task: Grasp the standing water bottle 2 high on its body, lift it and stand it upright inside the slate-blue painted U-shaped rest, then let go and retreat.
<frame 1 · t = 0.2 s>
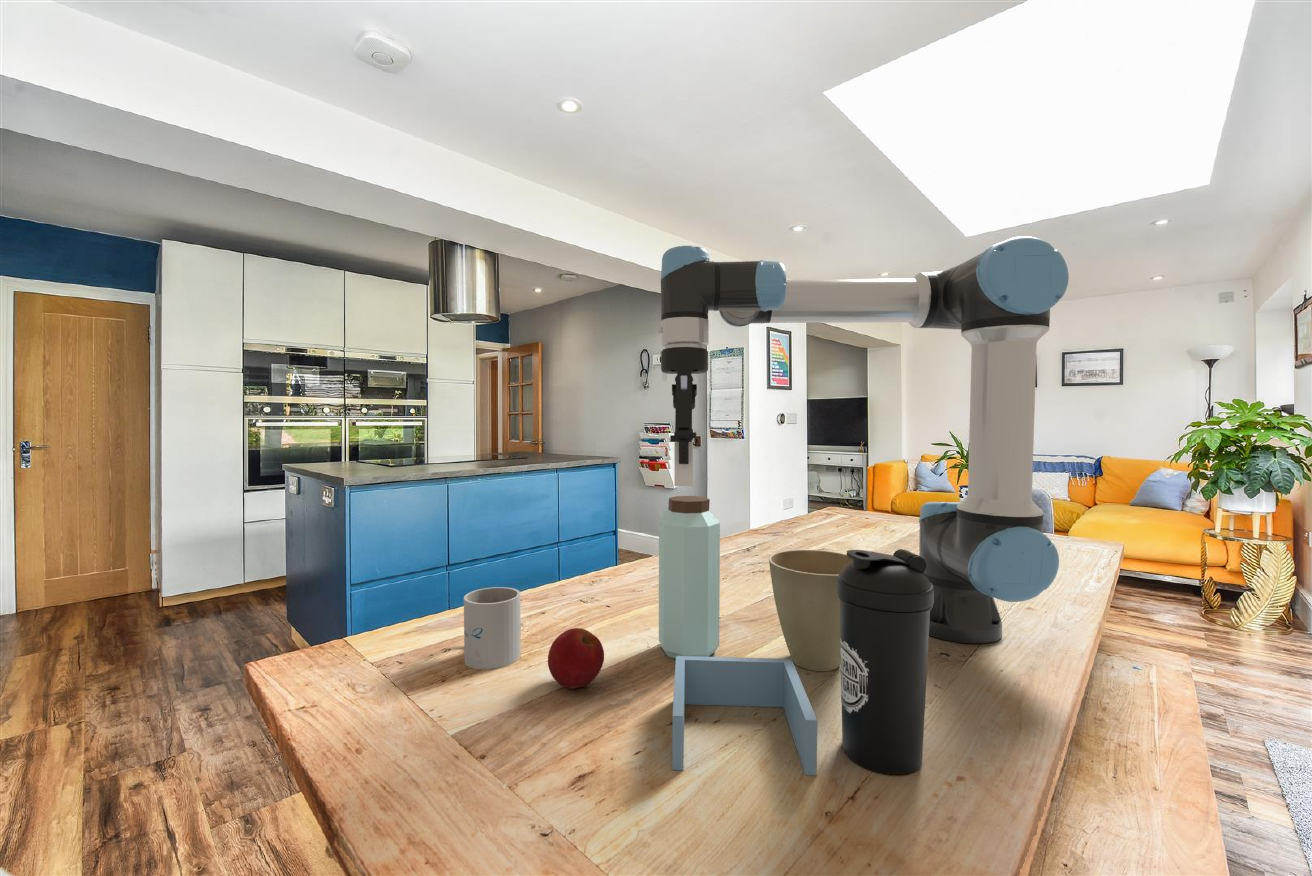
hand: (684, 481, 91), 28 cm above the table, fingers open, 13 cm apart
water bottle 2: (881, 754, 65), on the table
apple: (576, 686, 81), on the table
plant pot: (816, 663, 89), on the table
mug: (490, 654, 92), on the table
water bottle: (688, 651, 93), on the table
u rest: (737, 733, 69), on the table
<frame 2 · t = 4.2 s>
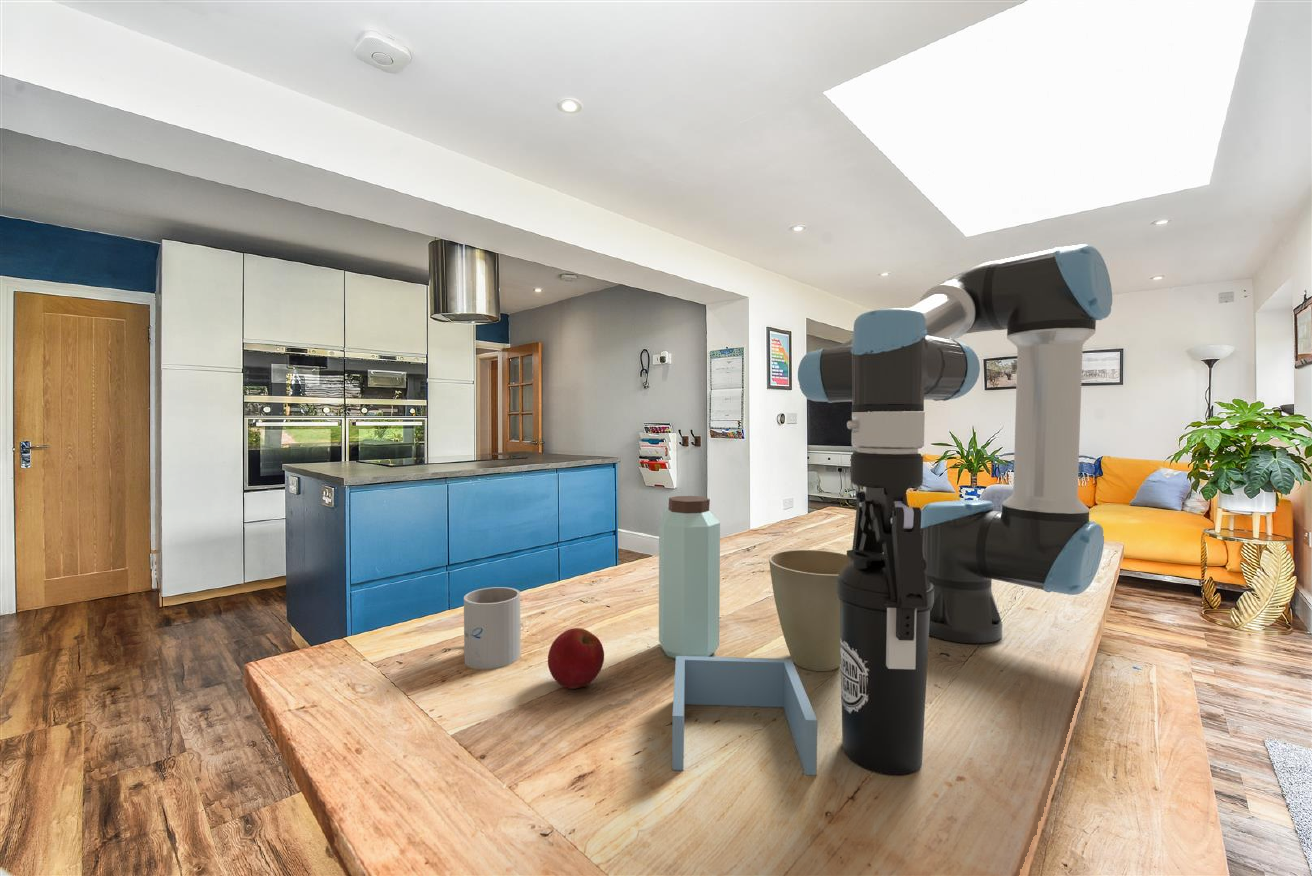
hand: (883, 646, 64), 12 cm above the table, fingers closed on water bottle 2, 10 cm apart
water bottle 2: (881, 754, 65), on the table, touching gripper
everything else where it was.
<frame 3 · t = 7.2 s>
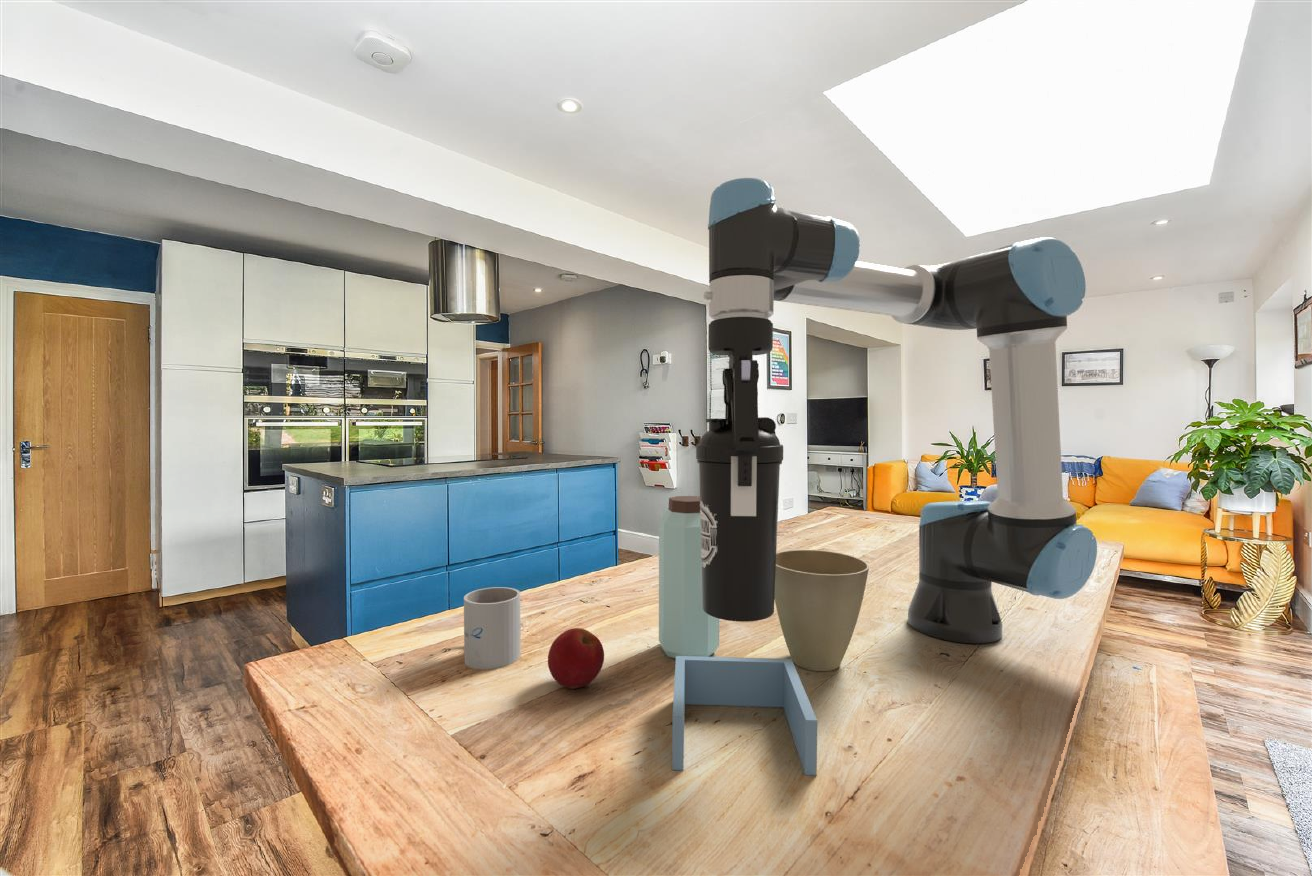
hand: (739, 507, 68), 27 cm above the table, fingers closed on water bottle 2, 10 cm apart
water bottle 2: (738, 610, 68), point 15 cm above the table, touching gripper
everything else where it was.
when the fingers open (14 cm above the table, at t = 10.0 s): water bottle 2 drops 2 cm, on the table.
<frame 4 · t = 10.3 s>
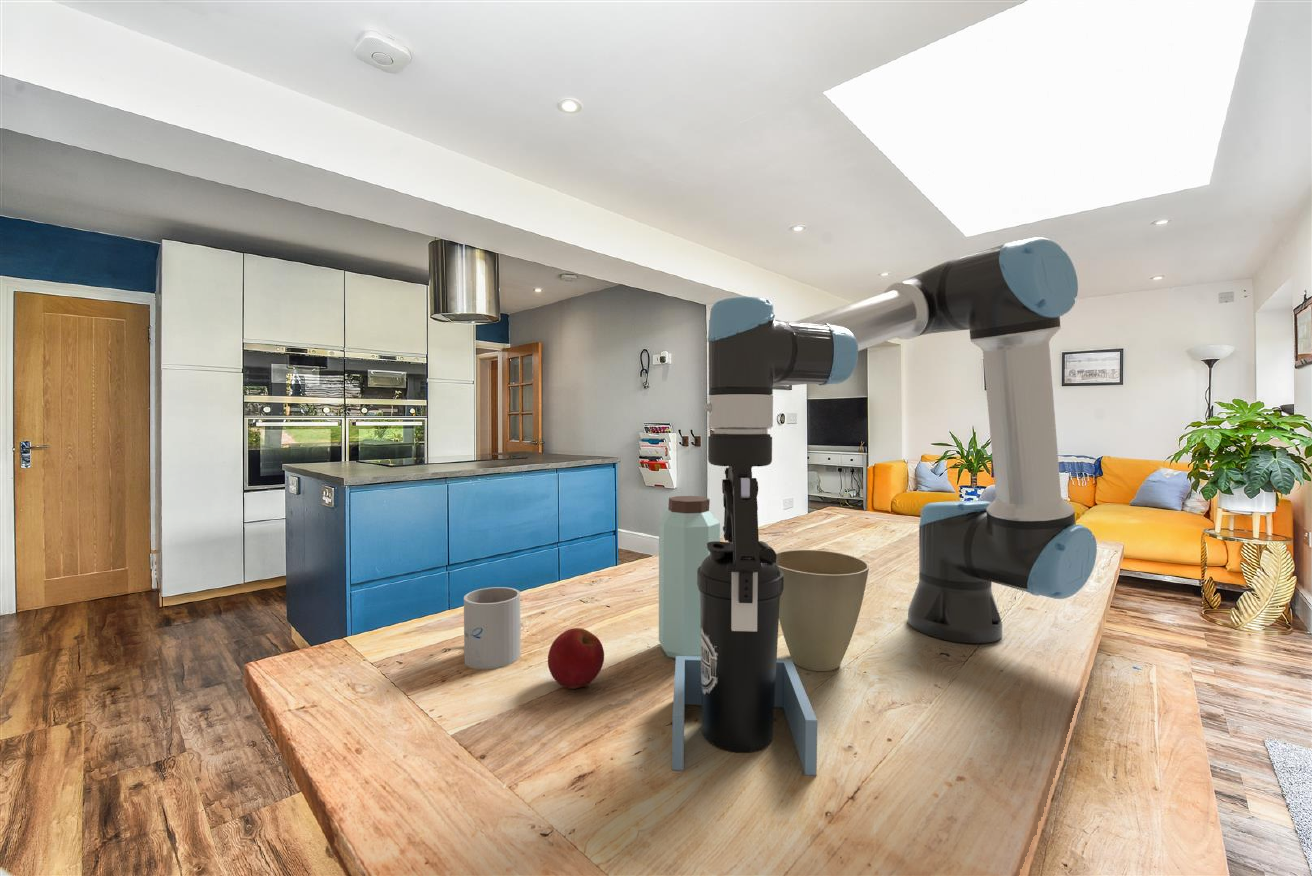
hand: (738, 609, 68), 15 cm above the table, fingers open, 13 cm apart
water bottle 2: (737, 733, 69), on the table
everything else where it was.
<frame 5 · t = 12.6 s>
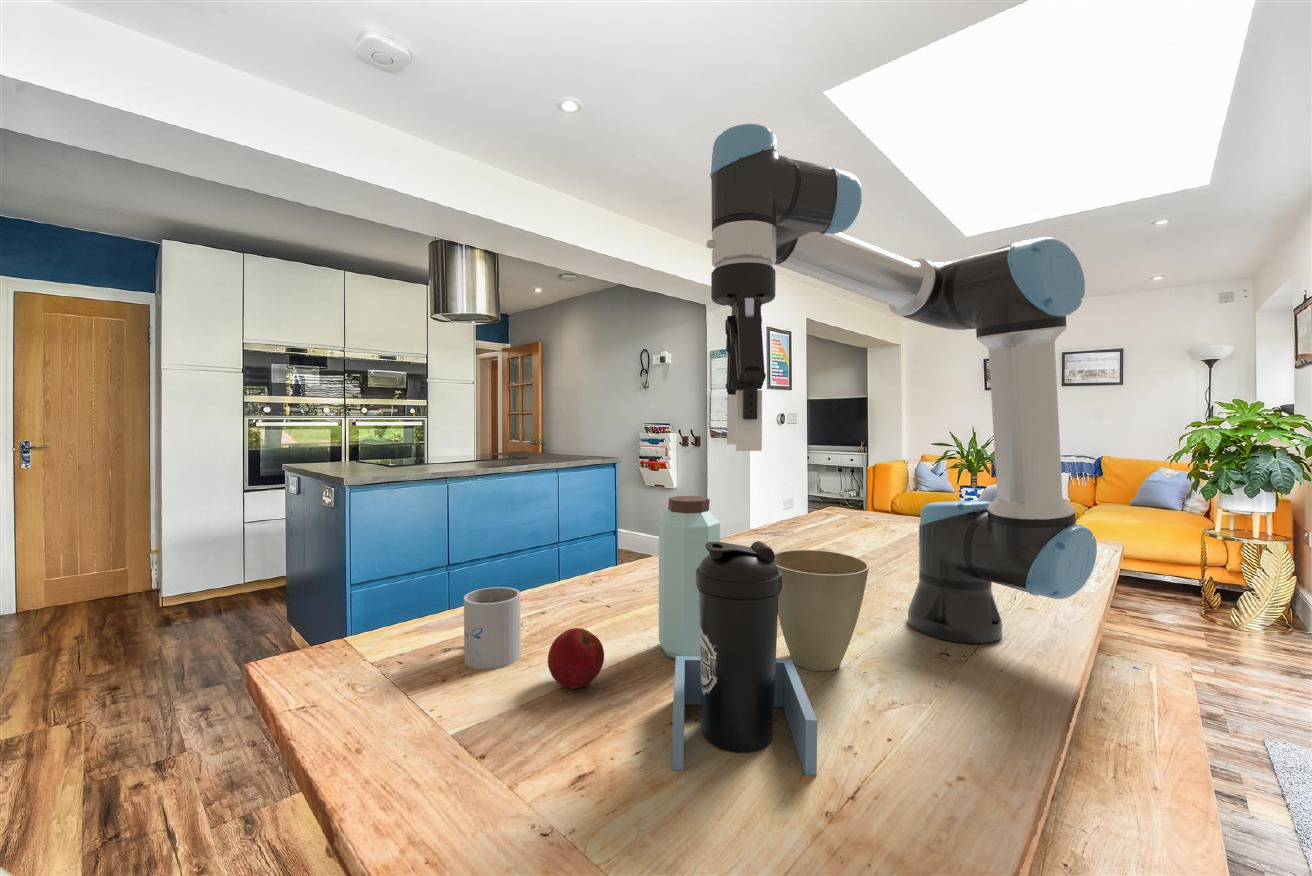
hand: (742, 447, 68), 35 cm above the table, fingers open, 13 cm apart
nothing on the table moved.
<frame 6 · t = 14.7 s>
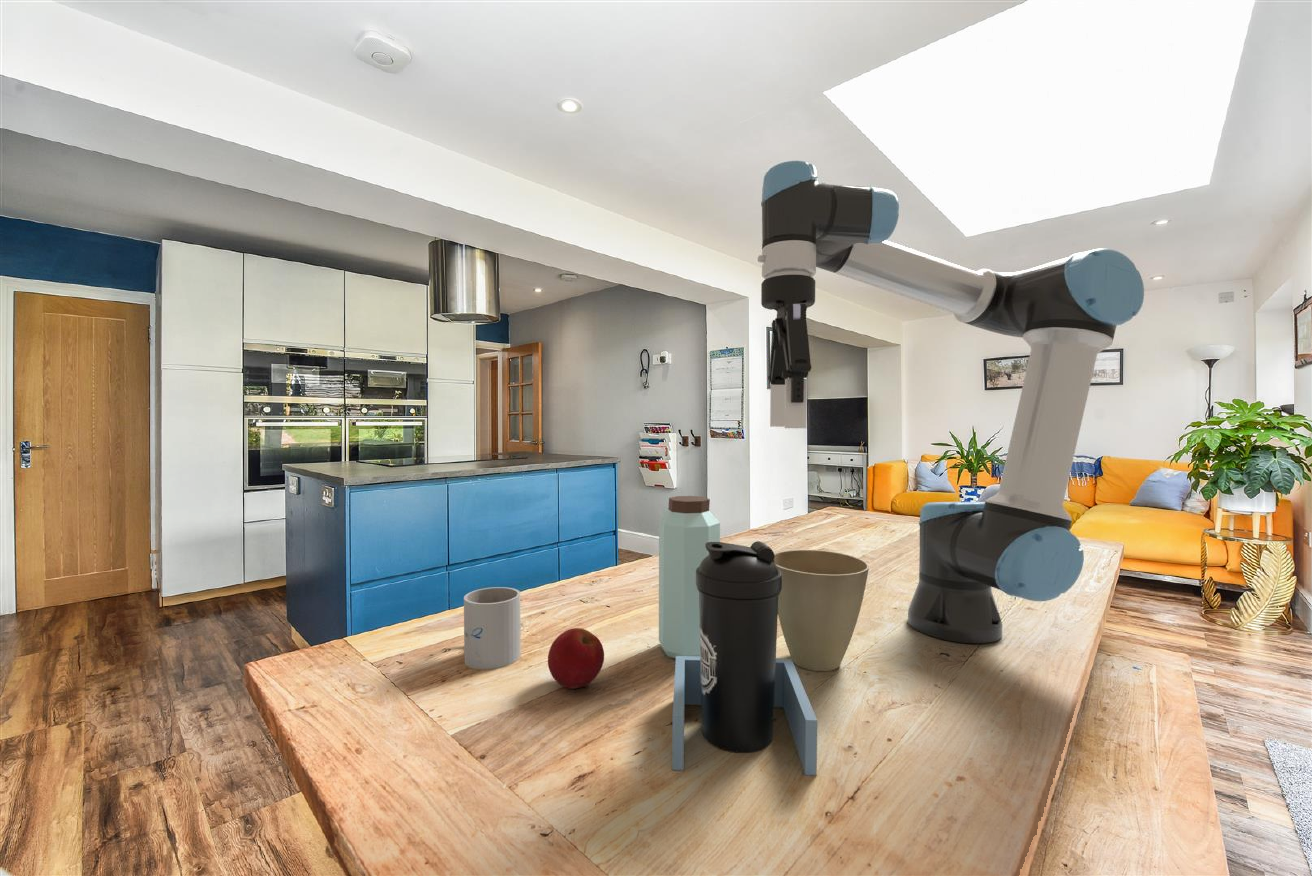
hand: (786, 427, 82), 37 cm above the table, fingers open, 13 cm apart
nothing on the table moved.
at the end: water bottle 2 inside the target area on the u rest (0.4 cm from its centre), point 0.0 cm above the u rest's base; water bottle 2 tilted 0°; the gripper is holding nothing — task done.
